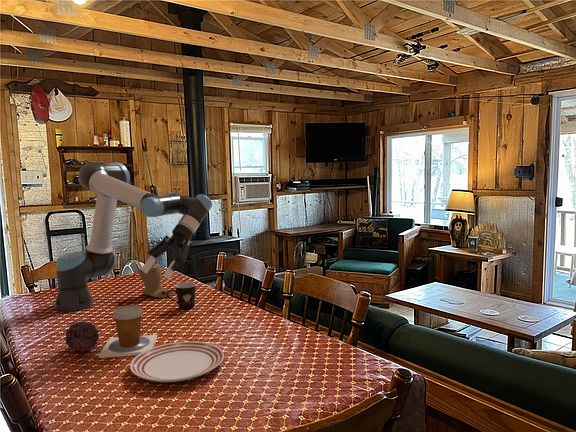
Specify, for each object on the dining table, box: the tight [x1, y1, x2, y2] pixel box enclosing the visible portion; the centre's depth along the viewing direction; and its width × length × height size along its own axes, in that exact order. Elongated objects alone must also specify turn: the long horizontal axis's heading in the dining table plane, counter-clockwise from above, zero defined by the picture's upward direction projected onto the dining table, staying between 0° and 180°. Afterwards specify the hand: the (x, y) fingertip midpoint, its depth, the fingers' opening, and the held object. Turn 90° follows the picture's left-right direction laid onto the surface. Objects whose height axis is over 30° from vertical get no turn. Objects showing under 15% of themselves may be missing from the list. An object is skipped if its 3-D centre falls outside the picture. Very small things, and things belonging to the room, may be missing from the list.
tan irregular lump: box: [138, 263, 175, 299], centre depth 203 cm, size 15×12×15 cm
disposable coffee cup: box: [112, 304, 144, 347], centre depth 144 cm, size 10×10×12 cm
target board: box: [98, 334, 158, 359], centre depth 145 cm, size 16×14×1 cm
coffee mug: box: [166, 282, 197, 311], centre depth 185 cm, size 12×9×10 cm
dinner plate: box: [129, 341, 225, 383], centre depth 130 cm, size 27×27×3 cm
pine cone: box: [65, 321, 100, 352], centre depth 142 cm, size 18×10×10 cm, turn 36°
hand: (154, 274), depth 158 cm, fingers open, 13 cm apart
